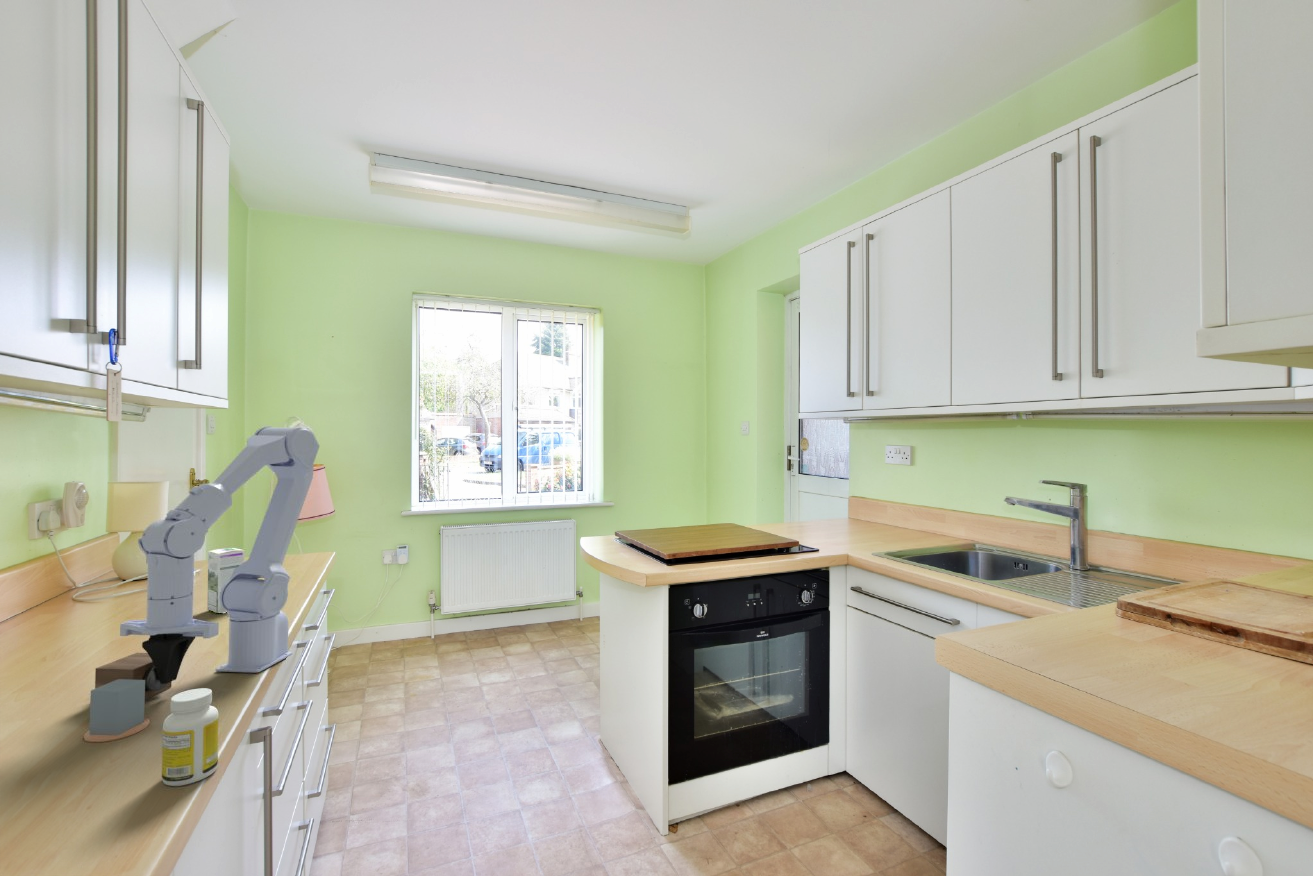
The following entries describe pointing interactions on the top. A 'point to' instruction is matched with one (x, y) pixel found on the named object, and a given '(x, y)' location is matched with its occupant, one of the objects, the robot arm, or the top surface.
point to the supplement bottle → (190, 738)
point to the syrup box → (221, 573)
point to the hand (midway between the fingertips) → (168, 681)
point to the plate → (112, 737)
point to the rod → (152, 680)
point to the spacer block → (117, 707)
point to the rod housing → (126, 671)
